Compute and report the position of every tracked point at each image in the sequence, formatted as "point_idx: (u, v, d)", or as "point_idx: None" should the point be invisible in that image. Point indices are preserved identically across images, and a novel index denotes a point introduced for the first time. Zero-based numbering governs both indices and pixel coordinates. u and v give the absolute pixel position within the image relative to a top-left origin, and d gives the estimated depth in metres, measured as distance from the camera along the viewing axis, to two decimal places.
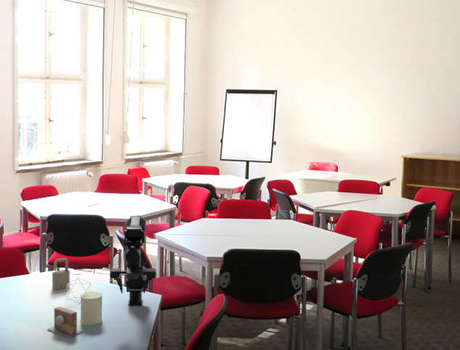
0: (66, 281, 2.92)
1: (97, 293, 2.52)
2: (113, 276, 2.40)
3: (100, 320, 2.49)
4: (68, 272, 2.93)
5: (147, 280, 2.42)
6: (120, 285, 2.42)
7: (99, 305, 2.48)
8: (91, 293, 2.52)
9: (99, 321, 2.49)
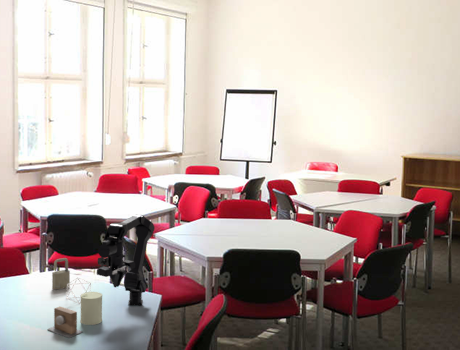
0: (66, 281, 2.92)
1: (97, 293, 2.52)
2: None
3: (100, 320, 2.49)
4: (68, 272, 2.93)
5: None
6: None
7: (99, 305, 2.48)
8: (91, 293, 2.52)
9: (99, 321, 2.49)
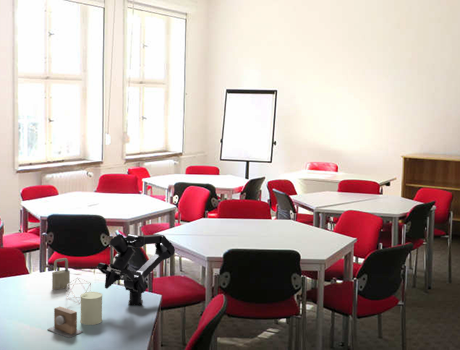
0: (66, 281, 2.92)
1: (97, 293, 2.52)
2: None
3: (100, 320, 2.49)
4: (68, 272, 2.93)
5: None
6: None
7: (99, 305, 2.48)
8: (91, 293, 2.52)
9: (99, 321, 2.49)
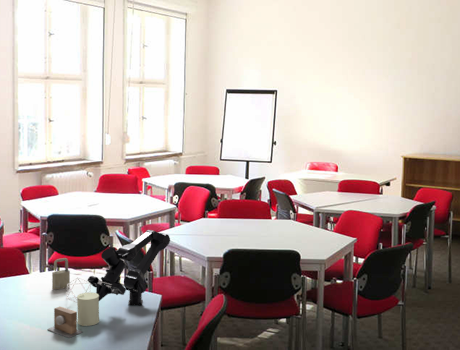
0: (66, 281, 2.92)
1: (94, 294, 2.50)
2: None
3: (97, 321, 2.48)
4: (68, 272, 2.93)
5: None
6: None
7: (95, 306, 2.46)
8: (88, 294, 2.50)
9: (96, 322, 2.47)
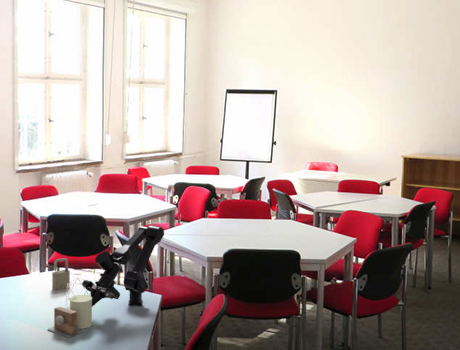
0: (66, 281, 2.92)
1: (87, 296, 2.47)
2: None
3: (89, 324, 2.44)
4: (68, 272, 2.93)
5: None
6: None
7: (88, 309, 2.43)
8: (82, 296, 2.47)
9: (88, 325, 2.44)
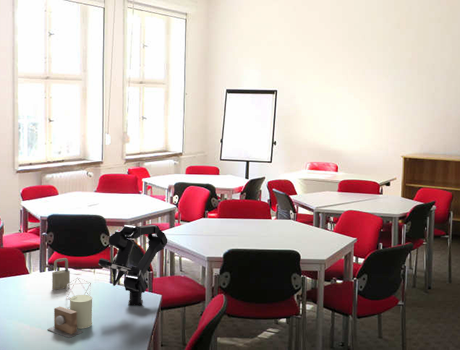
0: (66, 281, 2.92)
1: (87, 296, 2.47)
2: None
3: (89, 324, 2.44)
4: (68, 272, 2.93)
5: None
6: None
7: (88, 309, 2.43)
8: (82, 296, 2.47)
9: (88, 325, 2.44)
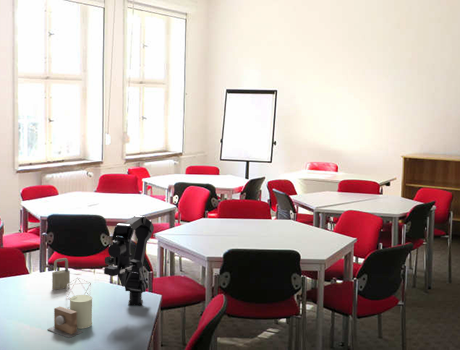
0: (66, 281, 2.92)
1: (87, 296, 2.47)
2: None
3: (89, 324, 2.44)
4: (68, 272, 2.93)
5: None
6: None
7: (88, 309, 2.43)
8: (82, 296, 2.47)
9: (88, 325, 2.44)
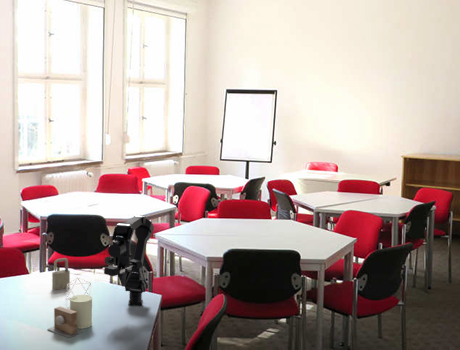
0: (66, 281, 2.92)
1: (87, 296, 2.47)
2: None
3: (89, 324, 2.44)
4: (68, 272, 2.93)
5: None
6: None
7: (88, 309, 2.43)
8: (82, 296, 2.47)
9: (88, 325, 2.44)
